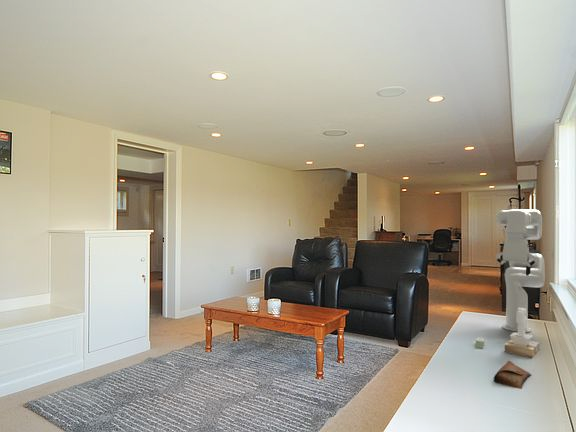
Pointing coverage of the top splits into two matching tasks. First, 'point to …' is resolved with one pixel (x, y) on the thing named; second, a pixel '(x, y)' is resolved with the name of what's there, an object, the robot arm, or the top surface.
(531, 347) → the oak pedestal
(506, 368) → the sunglasses case
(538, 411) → the top surface
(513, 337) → the figurine
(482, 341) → the brick sage
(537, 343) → the brick slate
